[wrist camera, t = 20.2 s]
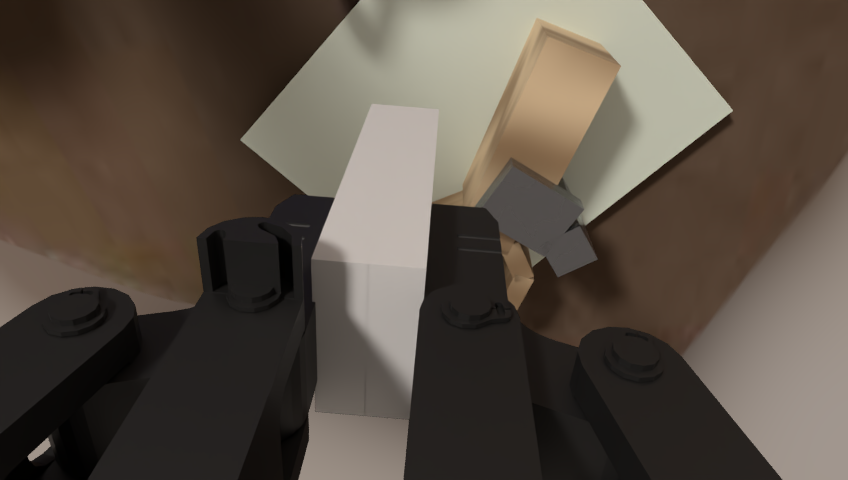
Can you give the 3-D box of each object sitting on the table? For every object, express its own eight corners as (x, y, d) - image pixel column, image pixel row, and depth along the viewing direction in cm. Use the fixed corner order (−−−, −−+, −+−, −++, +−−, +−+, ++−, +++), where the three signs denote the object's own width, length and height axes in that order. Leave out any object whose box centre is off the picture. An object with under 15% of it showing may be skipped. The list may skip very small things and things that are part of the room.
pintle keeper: (402, 207, 42) (390, 280, 34) (514, 103, 38) (529, 159, 30) (477, 272, 44) (482, 354, 37) (590, 181, 41) (622, 251, 33)
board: (245, 133, 40) (240, 139, 39) (502, -167, 31) (504, -168, 30) (461, 312, 46) (461, 321, 45) (725, 104, 38) (733, 110, 37)
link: (512, 7, 34) (520, 25, 30) (624, 53, 35) (647, 76, 31) (404, 262, 43) (398, 304, 39) (497, 293, 44) (501, 338, 40)
